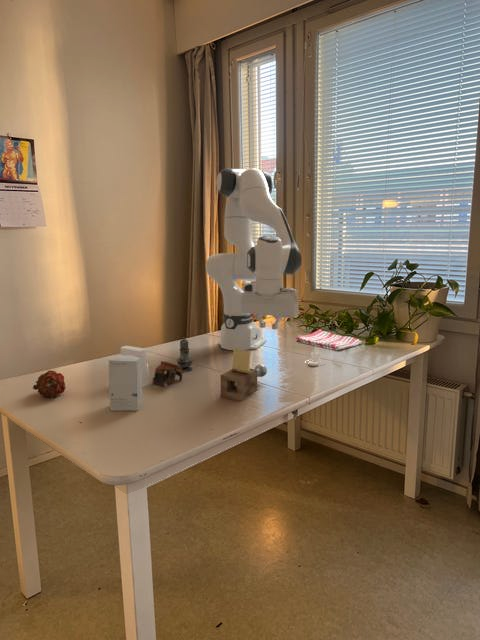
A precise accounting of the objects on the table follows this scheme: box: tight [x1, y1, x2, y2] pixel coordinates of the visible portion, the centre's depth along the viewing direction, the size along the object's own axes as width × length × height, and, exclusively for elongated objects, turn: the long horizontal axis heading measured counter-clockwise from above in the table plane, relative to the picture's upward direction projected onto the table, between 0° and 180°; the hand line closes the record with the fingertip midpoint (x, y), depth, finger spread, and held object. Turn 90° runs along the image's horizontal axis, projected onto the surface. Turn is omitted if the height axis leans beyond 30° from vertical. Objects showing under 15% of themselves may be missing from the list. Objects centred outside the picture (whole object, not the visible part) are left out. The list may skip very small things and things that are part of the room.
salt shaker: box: [176, 336, 194, 373], centre depth 168 cm, size 6×6×12 cm
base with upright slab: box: [120, 345, 150, 388], centre depth 153 cm, size 9×9×12 cm
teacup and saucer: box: [304, 351, 321, 367], centre depth 175 cm, size 9×8×4 cm
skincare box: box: [108, 354, 143, 412], centre depth 134 cm, size 8×6×15 cm
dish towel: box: [295, 328, 363, 352], centre depth 204 cm, size 17×23×4 cm
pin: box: [232, 363, 268, 389], centre depth 148 cm, size 16×4×4 cm, turn 149°
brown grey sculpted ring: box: [151, 361, 183, 388], centre depth 154 cm, size 12×10×8 cm
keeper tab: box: [231, 349, 252, 374], centre depth 143 cm, size 7×6×1 cm
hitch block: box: [220, 367, 258, 402], centre depth 144 cm, size 10×7×7 cm
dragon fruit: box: [32, 370, 67, 399], centre depth 144 cm, size 8×8×12 cm
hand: (268, 328), depth 156 cm, fingers open, 3 cm apart
